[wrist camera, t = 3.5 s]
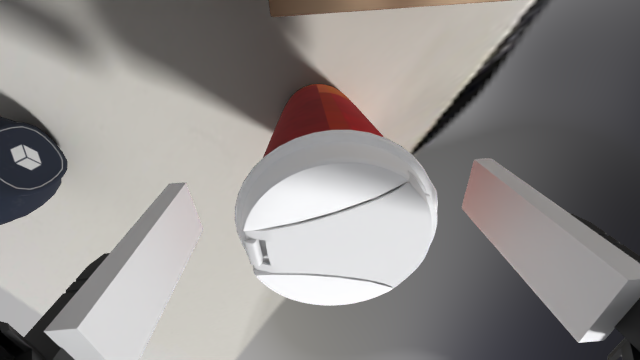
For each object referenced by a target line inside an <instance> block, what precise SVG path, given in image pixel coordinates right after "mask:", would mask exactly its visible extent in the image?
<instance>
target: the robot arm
mask: <svg viewBox="0 0 640 360" xmlns="http://www.w3.org/2000/svg"><path fill="white" fill-rule="evenodd" d="M462 209H463V210H464V211H465V212H466V214H467V215H468V216H469V217H470V218H471V219H472V221H473V222H474V223H475V224H476V225H477V226H478V228H479V229H480V230H481V231H482V232H483V233H484V234H485V235H486V237H487V238H488V239H489V240H490V241H491V243H492V244H493V245H494V246H495V247H496V248H497V249H498V250H499V252H500V253H501V254H502V255H503V256H504V257H505V259H506V260H507V261H508V262H509V263H510V264H511V266H512V267H513V268H514V269H515V270H516V271H517V272H518V274H519V275H520V276H521V277H522V278H523V279H524V280H525V282H526V283H527V284H528V285H529V286H530V287H531V289H532V290H533V291H534V292H535V293H536V294H537V296H538V297H539V298H540V299H541V300H542V301H543V302H544V304H545V305H546V306H547V307H548V308H549V309H550V310H551V312H552V313H553V314H554V315H555V316H556V317H557V319H558V320H559V321H560V322H561V323H562V324H563V325H564V326H565V328H566V329H567V330H568V331H569V332H570V334H571V335H572V336H573V337H574V338H575V339H576V341H577V342H579V343H581V342H592V341H602V340H605V339H606V337H607V336H608V335H609V334H610V333H611V332H612V331H613V330H614V328H616V329H617V330H618V331H619V332H620V333H621V334H622V335H623V336H624V337H625V338H624V339H623V341H621V343H620V344H619V345H618V346H617V347H616V348H615V349H614V350H613V351H612V352H611V353H610V354H609V355H608V359H607V360H617V359H618V358H619V357H620V356H622V359H623V360H640V256H639V255H637V254H636V253H635V252H633V251H632V250H630V249H629V248H627V247H626V246H624V245H620V243H619V242H618V241H617V240H615V239H614V238H613V237H611V236H607V235H606V233H605V232H604V231H602V230H601V229H599V228H598V227H597V226H595V225H594V224H592V223H591V222H589V221H586V220H584V219H582V218H580V217H577V216H575V215H573V214H569V213H568V212H566V211H565V210H563V209H562V208H561V207H559V206H558V205H556V204H555V203H554V202H552V201H551V200H549V199H548V198H546V197H545V196H543V195H542V194H541V193H539V192H538V191H537V190H535V189H534V188H532V187H531V186H529V185H528V184H527V183H525V182H524V181H522V180H521V179H520V178H518V177H517V176H515V175H514V174H513V173H511V172H510V171H508V170H507V169H505V168H504V167H503V166H501V165H500V164H498V163H497V162H496V161H494V160H493V159H491V158H487V159H475V160H474V163H473V167H472V170H471V174H470V178H469V182H468V185H467V190H466V193H465V197H464V201H463V204H462ZM203 230H204V229H203V226H202V224H201V221H200V218H199V215H198V213H197V210H196V207H195V205H194V202H193V199H192V197H191V194H190V191H189V189H188V186H187V183H186V182H185V183H172V184H168V186H167V187H166V188H165V189H164V190H163V191H162V193H161V194H160V195H159V196H158V197H157V199H156V200H155V201H154V202H153V203H152V204H151V206H150V207H149V208H148V209H147V210H146V211H145V213H144V214H143V215H142V216H141V217H140V219H139V220H138V221H137V222H136V223H135V224H134V226H133V227H132V228H131V229H130V230H129V231H128V233H127V234H126V235H125V236H124V237H123V239H122V240H121V241H120V242H119V243H118V244H117V246H116V247H115V248H114V249H113V250H112V251H111V253H107V254H103V255H102V256H101V257H99V258H98V259H97V260H95V261H94V262H93V263H91V264H90V265H88V267H87V268H86V269H85V270H84V271H83V272H82V273H81V274H80V275H79V277H78V278H77V279H76V282H73V283H72V284H71V285H70V287H69V288H68V289H67V290H66V293H65V294H62V296H61V297H60V298H59V299H58V300H57V301H56V302H55V303H54V304H53V306H52V307H51V308H50V309H49V310H48V311H47V312H46V313H45V314H44V316H43V317H42V318H41V319H40V320H39V321H38V322H37V323H36V325H35V326H34V327H33V328H32V329H31V330H30V331H29V332H28V333H27V335H26V336H25V337H23V336H21V335H20V334H19V333H18V332H17V331H16V330H14V329H13V328H12V327H11V326H10V325H9V324H8V323H4V322H0V360H140V358H141V356H142V354H143V352H144V350H145V348H146V346H147V344H148V342H149V340H150V338H151V336H152V334H153V332H154V330H155V328H156V325H157V323H158V321H159V319H160V317H161V315H162V313H163V311H164V309H165V307H166V305H167V303H168V301H169V299H170V297H171V295H172V293H173V291H174V289H175V287H176V285H177V283H178V281H179V279H180V277H181V274H182V272H183V270H184V268H185V266H186V264H187V262H188V260H189V258H190V256H191V254H192V252H193V250H194V248H195V246H196V244H197V242H198V240H199V238H200V236H201V234H202V232H203Z"/></svg>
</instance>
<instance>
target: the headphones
mask: <svg viewBox="0 0 640 360" xmlns="http://www.w3.org/2000/svg"><path fill="white" fill-rule="evenodd" d="M66 171H67V160H66V158H65V156H64V154H63V152H62V151H61V150H60V148H59V147H58V146H57V145H56V143H55V142H54V141H53V140H52V139H51V138H50V137H49V136H48V135H47V134H46V133H44V132H43V131H41V130H40V129H39V128H37V127H36V126H33V125H30V124H27V123H17V122H15V121H12V120H9V119H6V118H3V117H0V225H2V224H5V223H8V222H10V221H13V220H15V219H18V218H20V217H23V216H26V215H28V214H29V213H31V212H33V211H34V210H36V209H37V208H39V207H40V206H42V205H43V204H44V203H45V202H47V201H48V200H49V199H50V198H51V197H52V196H53V195H54V194H55V193H56V191H57V189H58V188H59V186H60V184H61V178H62V177H63V175H64V174H65V172H66Z"/></svg>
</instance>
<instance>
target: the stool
mask: <svg viewBox="0 0 640 360" xmlns="http://www.w3.org/2000/svg"><path fill="white" fill-rule="evenodd" d="M495 1H510V0H269V7H270V14H271V17H281V16H295V15H309V14H324V13H338V12H352V11H366V10H381V9H395V8H409V7H424V6H438V5H452V4H467V3H481V2H495Z"/></svg>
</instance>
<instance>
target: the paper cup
mask: <svg viewBox="0 0 640 360" xmlns="http://www.w3.org/2000/svg"><path fill="white" fill-rule="evenodd" d="M437 206H438V199H437V190H436V189H435V187H434V186H433V184H432V182H431V181H430V179H429V178H428V175H427V174H426V172H425V170H424V168H423V167H422V165H421V164H420V163H419V162H418V161H417V160H416V158H415V157H414V156H413V155H412V154H411V153H409V152H408V151H407V150H405V149H404V148H403V147H402V146H400V145H398V144H396V143H395V142H393V141H391V140H389V139H387V138H384V137H383V136H382V134H381V133H380V132H379V131H378V130H377V129H376V128H375V127H374V126H373V125H372V123H371V122H370V121H369V120H368V119H367V118H366V117H365V116H364V115H363V114H362V113H361V111H360V110H359V109H358V108H357V107H356V106H355V105H354V104H353V103H352V102H351V101H350V100H349V99H348V98H347V97H346V96H345V95H344V94H343V93H342V92H340V91H339V90H338V89H336V88H334V87H332V86H329V85H324V84H313V85H309V86H306V87H303V88H301V89H300V90H298V91H297V92H296V93H294V94H293V95H292V97H291V98H290V99H289V101H288V102H287V104H286V106H285V108H284V110H283V112H282V114H281V116H280V119H279V121H278V123H277V126H276V128H275V130H274V133H273V135H272V137H271V140H270V142H269V145H268V147H267V149H266V152H265V154H264V157H263V159H262V160H261V161H260V162H259V163H257V164H256V165H255V166H254V167H253V169H252V170H251V172H250V173H249V174H248V176H247V177H246V179H245V180H244V182H243V184H242V187H241V189H240V191H239V193H238V197H237V201H236V206H235V224H236V229H237V233H238V236H239V238H240V241H241V243H242V245H243V247H244V249H245V250H246V253H247V255H248V257H249V260H250V264H251V265H253V271H254V274H255V275H256V277H257V278H258V279H259V280H260V281H261V282H262V283H263V284H265V285H266V286H267V287H268V288H270V289H271V290H273V291H275V292H276V293H278V294H280V295H282V296H284V297H287V298H289V299H292V300H295V301H299V302H303V303H309V304H314V305H344V304H351V303H356V302H360V301H365V300H368V299H371V298H374V297H377V296H379V295H382V294H384V293H386V292H388V291H390V290H391V289H393V288H395V287H396V286H397V285H398V284H400V283H401V282H402V281H403V280H404V279H406V278H407V277H408V276H409V275H410V274H411V273H412V272H414V270H416V269H417V267H418V266H419V265H420V264H421V262H422V261H423V260H424V258H425V256H426V254H427V252H428V249H429V246H430V244H431V242H432V240H433V238H434V235H435V231H436V226H437Z"/></svg>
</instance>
